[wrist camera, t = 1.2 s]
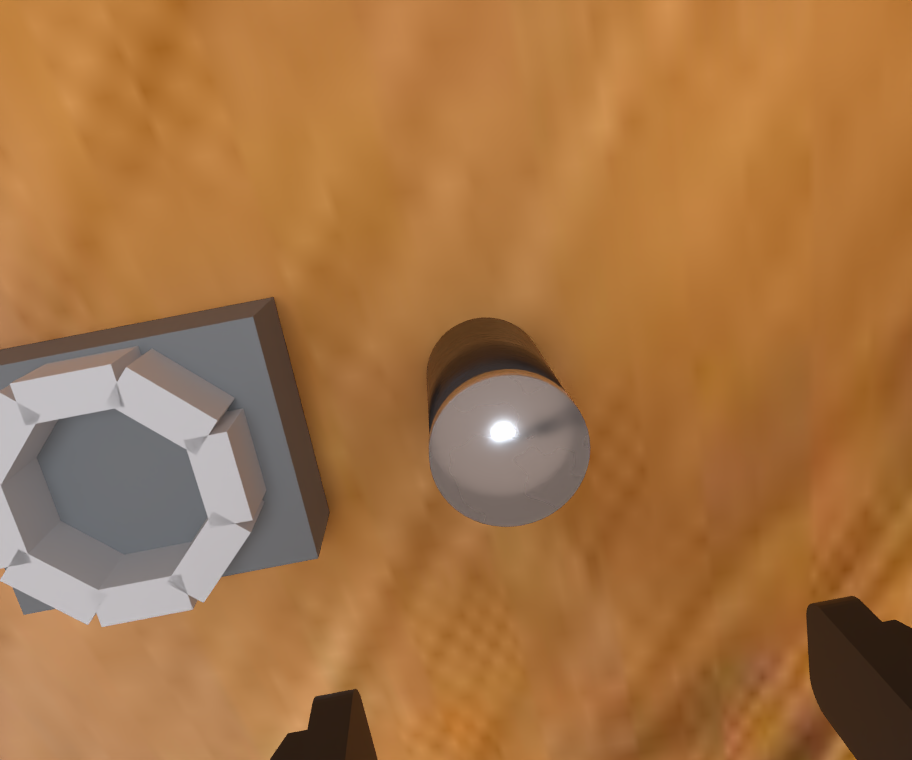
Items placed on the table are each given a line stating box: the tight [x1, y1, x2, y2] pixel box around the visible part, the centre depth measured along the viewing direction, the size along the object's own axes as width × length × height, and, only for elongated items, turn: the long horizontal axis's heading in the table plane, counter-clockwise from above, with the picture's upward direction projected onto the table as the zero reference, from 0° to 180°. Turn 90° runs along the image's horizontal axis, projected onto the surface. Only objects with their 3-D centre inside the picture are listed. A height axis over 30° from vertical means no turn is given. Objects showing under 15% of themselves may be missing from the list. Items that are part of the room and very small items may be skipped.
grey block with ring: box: [0, 297, 329, 627], centre depth 29 cm, size 12×10×6 cm
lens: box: [427, 318, 590, 527], centre depth 28 cm, size 5×5×9 cm
